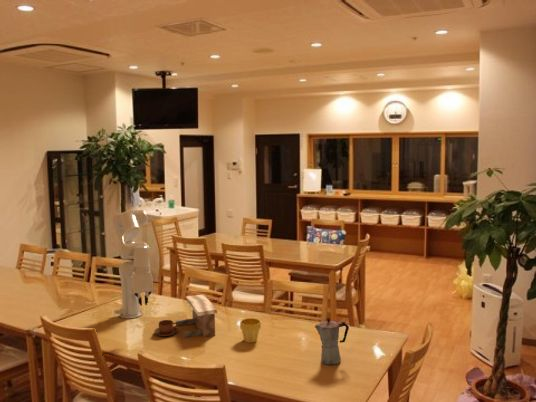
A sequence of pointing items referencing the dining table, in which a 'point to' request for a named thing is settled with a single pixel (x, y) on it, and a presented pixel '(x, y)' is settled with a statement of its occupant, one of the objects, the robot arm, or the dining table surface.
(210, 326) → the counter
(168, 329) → the cup and saucer
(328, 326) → the moka pot
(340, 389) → the dining table surface
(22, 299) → the dining table surface
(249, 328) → the plant pot
